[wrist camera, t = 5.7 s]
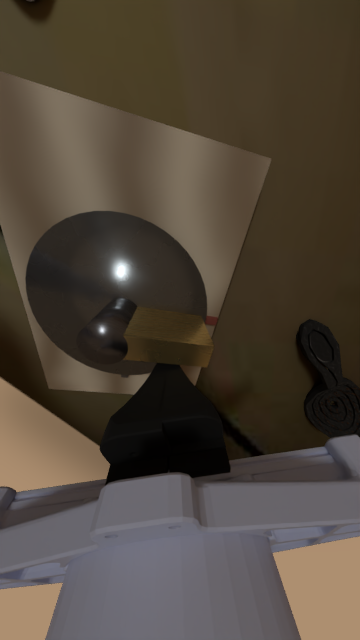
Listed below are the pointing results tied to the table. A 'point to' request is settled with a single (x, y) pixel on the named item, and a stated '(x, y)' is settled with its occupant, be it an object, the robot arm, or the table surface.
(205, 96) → the table surface
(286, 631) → the robot arm
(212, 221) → the dial board
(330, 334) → the hairbrush
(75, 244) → the dial
